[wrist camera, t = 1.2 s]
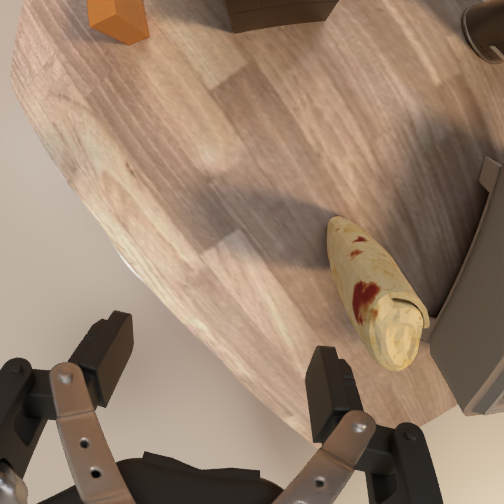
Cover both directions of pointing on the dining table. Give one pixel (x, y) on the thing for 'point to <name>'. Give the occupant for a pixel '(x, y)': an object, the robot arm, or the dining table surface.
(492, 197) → the toaster
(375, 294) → the food model
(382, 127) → the dining table surface
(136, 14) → the orange slab
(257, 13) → the slot toaster
